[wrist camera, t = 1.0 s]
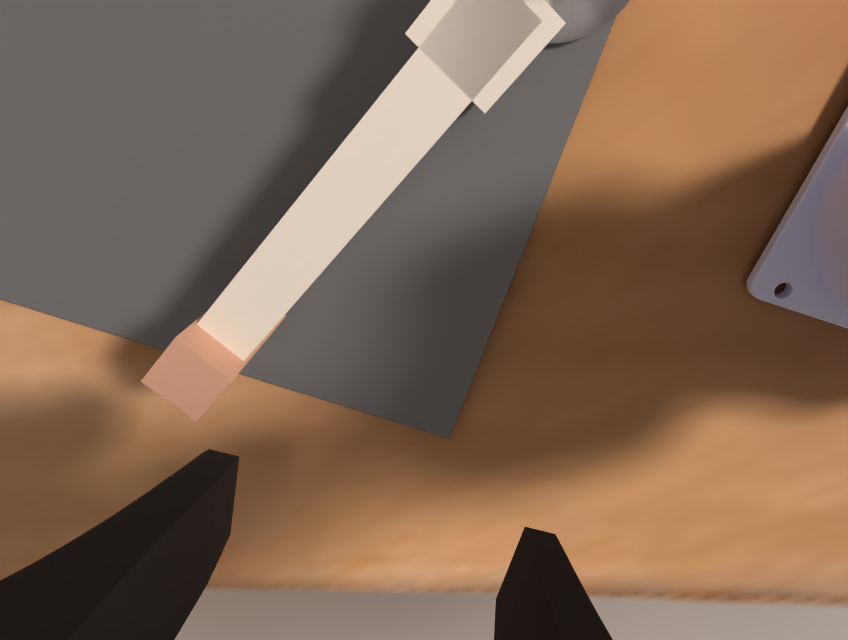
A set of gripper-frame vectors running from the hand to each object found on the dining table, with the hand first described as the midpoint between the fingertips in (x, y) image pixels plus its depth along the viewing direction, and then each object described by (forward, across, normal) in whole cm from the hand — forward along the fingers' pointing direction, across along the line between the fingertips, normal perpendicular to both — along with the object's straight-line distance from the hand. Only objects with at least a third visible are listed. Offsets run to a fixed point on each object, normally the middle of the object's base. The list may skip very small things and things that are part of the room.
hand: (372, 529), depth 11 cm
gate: (+8, +3, -5) cm, 10 cm away
